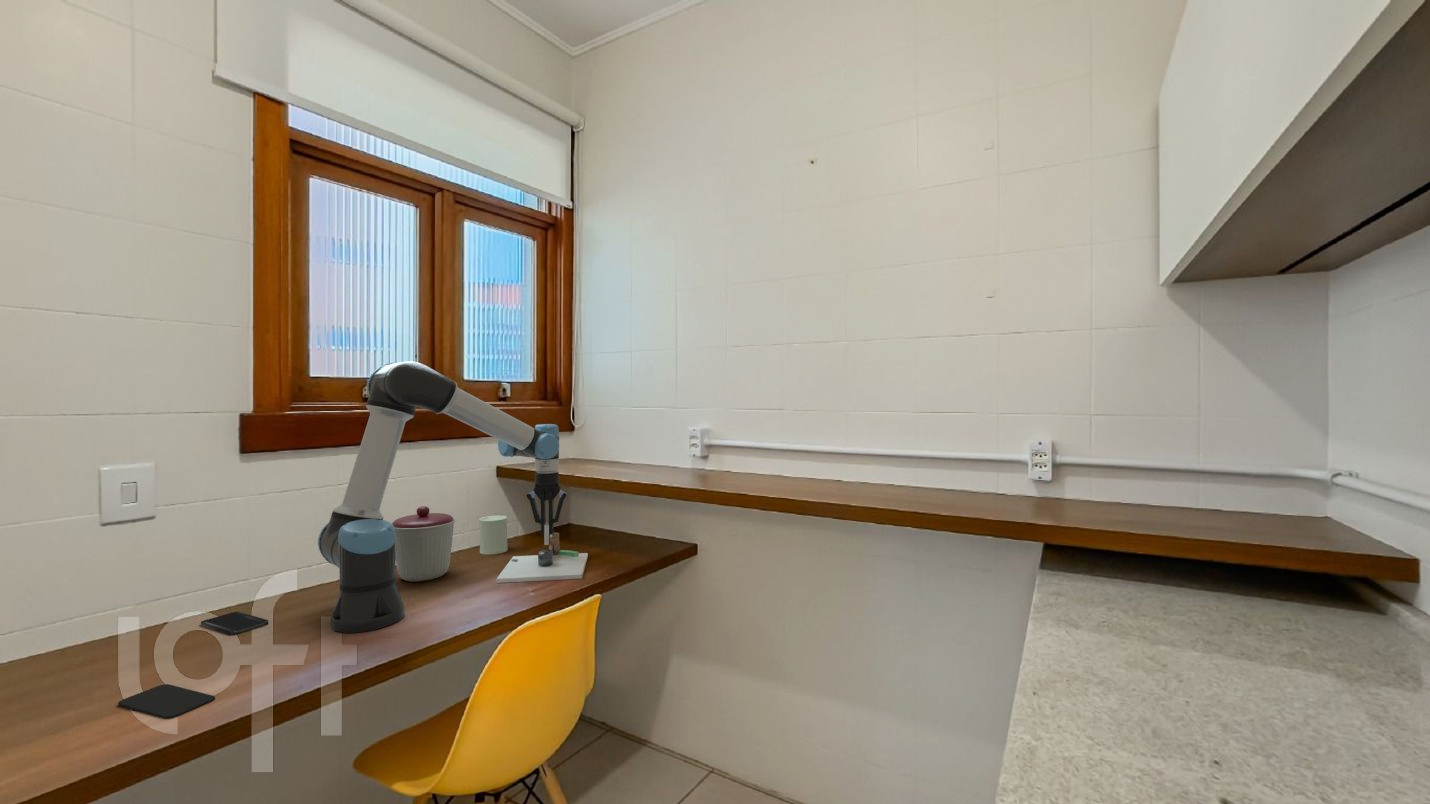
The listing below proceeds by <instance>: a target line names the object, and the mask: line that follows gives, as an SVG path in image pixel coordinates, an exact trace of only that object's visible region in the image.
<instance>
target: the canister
mask: <svg viewBox="0 0 1430 804" xmlns="http://www.w3.org/2000/svg"><path fill="white" fill-rule="evenodd" d="M415 512H416V514H411V515H405V516H402V517H398V518H397V519H395V520H393V522H390V523H391V524H392V525H393V526H394V529H395V535H396V541H395V561H396V569H397V573H398V576H399V578H400V579H401V580H403V581H406V582H426V581H431V580H435V579H438V578H440V577H442V576H444V575H445V574H446V573H447V572H448V570H449V568H450V561H451V556H452V555H451V554H452V547H453V537H454V528H455V527H454V525H455V523H456V522H457V518H456V517H455V516H452V515H450V514H447V513H443V512H442V513H440V512H430V508H429V507H428V506H427V505H425V506H423V505H422V506H418V508H416V511H415Z"/></svg>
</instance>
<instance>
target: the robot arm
mask: <svg viewBox="0 0 1430 804" xmlns="http://www.w3.org/2000/svg"><path fill="white" fill-rule="evenodd" d="M367 391H368V394H369V395H368V399H367V402H366V405H365V407H366V409H367V411H368V412H369V417H368V421H367V424H366V427H365V430H364V433H363V437H362V439H361V443H360V445H359V448H358V449H359V450H358V452H357V454H356V455H357V456H356V458H355V462H354V465H353V468H352V471H351V475H350V477H349V479H348V480H349V481H348V484H347V488H346V489H345V494H344V496H343V500H342V503H341V504H339V505H338V506H337V507H335V508H333V509H332V513H331V515H330V518H329V521H328V523H326V524H325V525H324V527H323V528H322V529H321V530H320V532H319V535H318V539H317V546H318V550H319V552H320V555H321V556H322V557H323V558H324V560H325V561H326V562H328V563H329V564H331V565H333V566H335V567H337V568H339V573H338V574H339V594H338V597H337V600H336V604H335V606H334V609H333V612H332V615H331V620H330V621H331V624H330V625H331V630H333V631H335V632H338V633H348V634H349V633H350V634H351V633H353V634H354V633H362V632H368V631H373V630H378V629H382V628H385V627H388V626H391V625H393V624H395V623H398V622H399V621H401V620H402V619H403V618H404V617H405V604H404V602H403V598H402V597H401V594H400V592H399V589H398V587H397V586H398V585H397V579H396V575H397V574H396V573H397V572H396V569H397V565H396V559H395V541H396V535H395V529H394V526H393V525H392V524H391V523H392V522H390V521H388V520H384V516H383V514H382V513H381V510H380V509H381V505H382V502H383V498H384V495H385V492H386V489H387V484H388V482H389V480H390V479H389V478H390V475H391V472H392V468H393V465H394V462H395V459H396V456H397V451H398V448H399V445H400V442H401V439H402V435H403V432H404V428H405V425H406V422H408V421H409V420H411V419H413V418H414V417H415V414H416V410H417V408H421V409H424V410H427V411H429V412H431V413H434V414H436V415H438V414H439V415H440V414H444V415H447V416H449V417H451V418H453V419H455V420H457V421H459V422H462V423H464V424H465V425H468V426H470V427H472V428H473V429H476V430H478V431H480V432H482V433H484V434H485V435H489V436H491V437H492V438H495V439H496V440H497V450H498V452H499V454H500V455H501V456H503V457H505V458H506V457H511V458H512V457H524V458H533V459H534V470H535V473H534V487H533V490H532V491H530V492H529V493H527V494H526V497H527V500H528V501H529V503H530V507H531V511H532V515H533V519H534V523H535V524H536V523H537V524H540V534H541V535H543V536H544V537H543V539H544V541H543V542H544V546H549V534H552V533H554V524H555V523H558V522H559V520H560V517H561V514H562V509H563V504H564V502H565V498H566V497H567V496H568V492H566V491H563V490H562V489H561V486H560V472H559V470H560V431H559V430H560V429H559V426H558V425H557V424H554V423H553V424H552V423H545V424H543V423H541V424H536V425H535V426H534V427H532V426H530V425H529V424H527V423H526V422H523V421H521V420H520V419H518V418H516V417H514V416H512V415H510V414H508V413H507V412H504V411H502V410H500V409H498V408H497V407H495V406H493V405H492V404H489V402H488V403H487V402H486V401H484V400H482V399H480V398H478V397H476V396H474V395H472V394H471V393H468V392H467V391H465V390H463V389H461V388H459V387H458V383H457V382H456V381H455V380H452V379H451V378H450V377H449V378H448V377H447V376H446V375H443V374H442V373H440V372H438V371H436V370H435V369H433V368H431V367H430V366H428V365H426V364H423V363H421V362H417V361H411V360H410V361H402V362H401V361H400V362H397V361H396V362H389V363H386V364H383V365H382V366H380V367H378V368H376V369H375V370H374V371H373V372H372V373H371V374H370V376H369V379H368V382H367ZM557 496H559V501H558V505H557V508H556V513H554V512H555V510H554V506H555V505H554V502H555V498H557ZM536 497H537V498H538V500H539V501H540V513H539V510H538V505H537V502H536V499H535V498H536ZM547 501H548V502H547ZM547 503H548V522H547V517H546V515H547V511H546V509H547V506H546V504H547ZM554 514H555V515H554Z"/></svg>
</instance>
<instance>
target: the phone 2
mask: <svg viewBox="0 0 1430 804" xmlns="http://www.w3.org/2000/svg"><path fill="white" fill-rule="evenodd" d="M268 625H269V620H268V619H267V618H266V619H265V618H263V617H259V616H255V615H252V614H248V613H244V612H241V611H234V612H233V611H231V612H230V613H226V614H222V615H218V616H215V617H211V618H208V619H205V620H202V621H200V626H201V627H203V628H205V629H210V630H213V631H216V632H219V633H222V634H225V635H229V636H236V635H240V634H243V633H245V632H246V633H247V632H249V631H253V630H256V629H258V628H262V627H266V626H268Z"/></svg>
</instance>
